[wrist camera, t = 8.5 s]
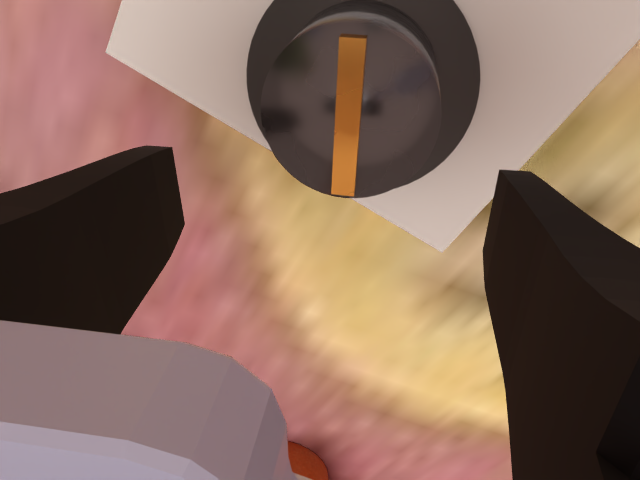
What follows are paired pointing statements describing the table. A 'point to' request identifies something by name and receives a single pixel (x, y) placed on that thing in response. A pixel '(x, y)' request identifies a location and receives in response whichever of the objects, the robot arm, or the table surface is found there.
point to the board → (453, 68)
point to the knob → (354, 100)
